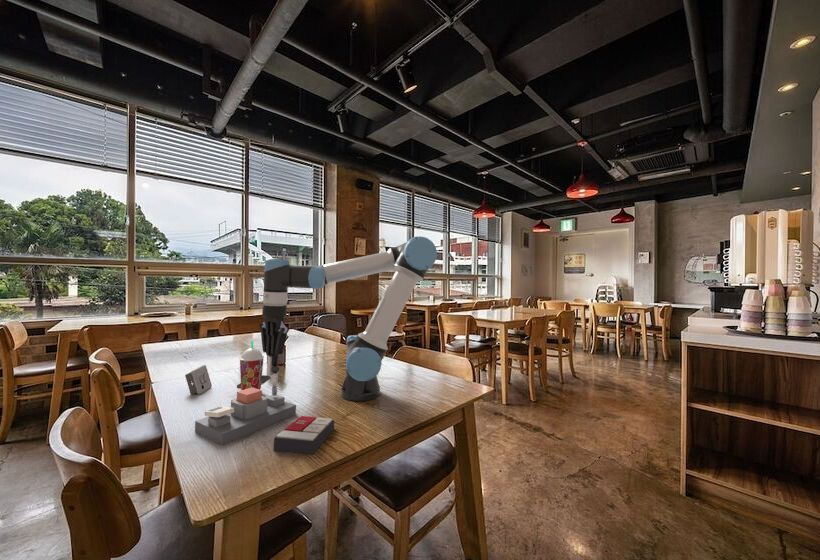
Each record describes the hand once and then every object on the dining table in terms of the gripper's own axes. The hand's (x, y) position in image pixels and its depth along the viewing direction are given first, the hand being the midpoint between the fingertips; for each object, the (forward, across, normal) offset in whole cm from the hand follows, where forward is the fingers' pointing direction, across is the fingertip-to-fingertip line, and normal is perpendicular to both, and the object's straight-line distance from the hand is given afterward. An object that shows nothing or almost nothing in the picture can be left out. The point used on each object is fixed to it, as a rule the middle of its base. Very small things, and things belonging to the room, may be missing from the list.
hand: (271, 374), depth 109 cm
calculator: (+12, +25, -6) cm, 28 cm away
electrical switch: (+14, -38, -4) cm, 41 cm away
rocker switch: (+7, +2, -18) cm, 19 cm away
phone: (+14, -31, +15) cm, 37 cm away
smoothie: (+13, -20, +6) cm, 25 cm away
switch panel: (+12, +2, -9) cm, 15 cm away
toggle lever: (+7, +2, 0) cm, 7 cm away
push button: (+7, +2, -9) cm, 11 cm away
